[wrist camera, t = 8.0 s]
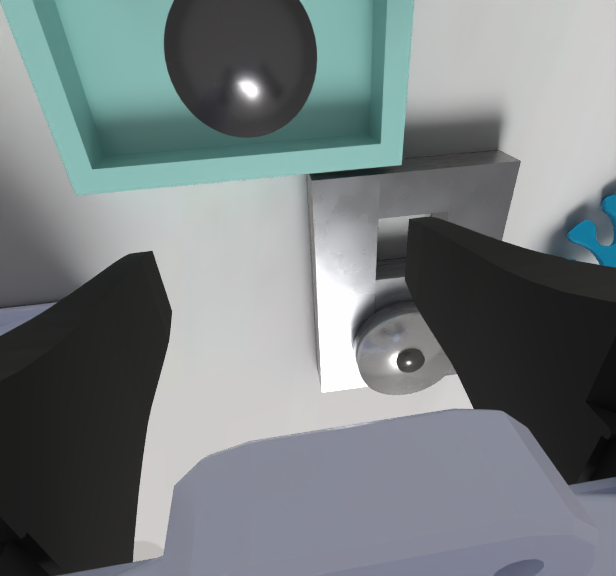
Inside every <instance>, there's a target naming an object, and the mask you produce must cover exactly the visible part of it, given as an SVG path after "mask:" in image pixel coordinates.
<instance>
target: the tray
mask: <svg viewBox="0 0 616 576" xmlns="http://www.w3.org/2000/svg"><path fill="white" fill-rule="evenodd" d="M173 1H174V0H0V3H1V5H2V8H3V10H4V13H5V16H6V18H7V21H8V23H9V26H10V28H11V31H12V33H13V36H14V39H15V41H16V44H17V46H18V49H19V51H20V54H21V57H22V59H23V62H24V64H25V67H26V69H27V72H28V74H29V77H30V80H31V82H32V85H33V87H34V90H35V92H36V95H37V97H38V100H39V103H40V105H41V108H42V110H43V113H44V115H45V118H46V120H47V123H48V126H49V128H50V131H51V133H52V136H53V138H54V141H55V143H56V146H57V149H58V151H59V154H60V156H61V159H62V161H63V164H64V167H65V169H66V172H67V174H68V177H69V179H70V182H71V184H72V187H73V190H74V192H75V195H87V194H97V193H108V192H119V191H129V190H140V189H151V188H161V187H172V186H183V185H193V184H204V183H215V182H226V181H236V180H247V179H258V178H268V177H279V176H290V175H300V174H311V173H322V172H332V171H343V170H354V169H364V168H375V167H386V166H396V165H402V154H403V141H404V128H405V115H406V102H407V89H408V76H409V62H410V49H411V36H412V23H413V10H414V0H300V2H301V3H302V5H303V7H304V8H305V10H306V12H307V14H308V16H309V19H310V21H311V24H312V27H313V31H314V34H315V39H316V46H317V70H316V75H315V81H314V84H313V87H312V90H311V93H310V95H309V97H308V99H307V101H306V103H305V104H304V106H303V108H302V109H301V110H300V112H299V113H298V114H297V115H296V116H295V117H294V118H293V119H292V120H291V121H290V122H289V123H288V124H286V125H285V126H284V127H282V128H280V129H279V130H277V131H275V132H273V133H270V134H267V135H264V136H260V137H252V138H240V137H234V136H229V135H226V134H223V133H220V132H218V131H216V130H214V129H212V128H210V127H209V126H207V125H205V124H204V123H203V122H201V121H200V120H199V119H198V118H196V117H195V116H194V115H193V114H192V113H191V112H190V111H189V110H188V108H187V107H186V106H185V105H184V103H183V102H182V101H181V99H180V97H179V96H178V94H177V92H176V91H175V88H174V86H173V84H172V82H171V79H170V77H169V74H168V71H167V66H166V62H165V55H164V31H165V24H166V20H167V17H168V13H169V10H170V8H171V6H172V3H173Z"/></svg>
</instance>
